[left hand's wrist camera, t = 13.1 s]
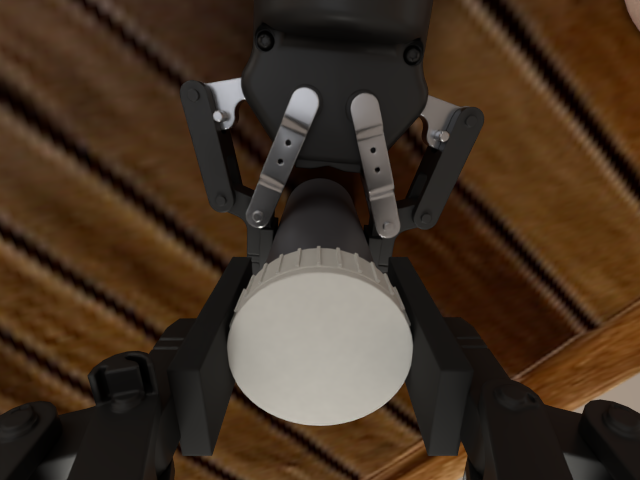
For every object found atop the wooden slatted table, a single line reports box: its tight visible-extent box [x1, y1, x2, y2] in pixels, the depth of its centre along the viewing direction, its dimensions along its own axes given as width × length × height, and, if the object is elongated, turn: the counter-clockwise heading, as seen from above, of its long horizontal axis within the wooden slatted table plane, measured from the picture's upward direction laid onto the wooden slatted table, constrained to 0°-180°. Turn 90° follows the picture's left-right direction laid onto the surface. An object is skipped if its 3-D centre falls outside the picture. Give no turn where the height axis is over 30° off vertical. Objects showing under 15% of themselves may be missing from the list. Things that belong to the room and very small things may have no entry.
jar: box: [266, 178, 376, 267], centre depth 18 cm, size 5×5×15 cm
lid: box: [227, 246, 413, 426], centre depth 11 cm, size 6×6×2 cm
